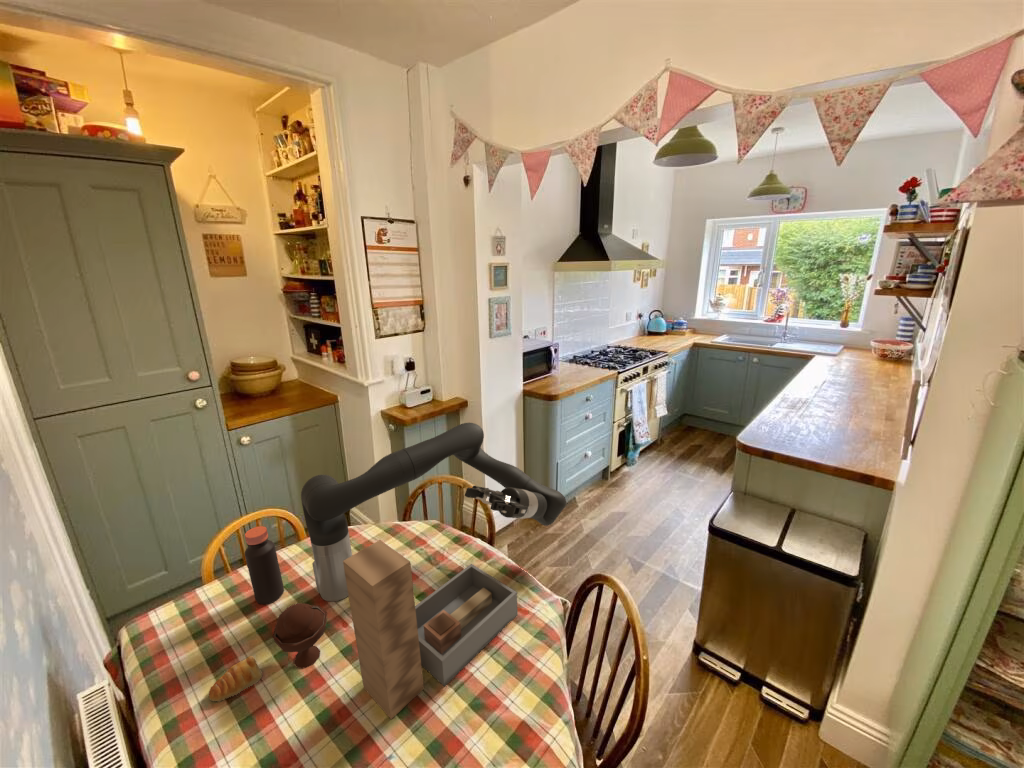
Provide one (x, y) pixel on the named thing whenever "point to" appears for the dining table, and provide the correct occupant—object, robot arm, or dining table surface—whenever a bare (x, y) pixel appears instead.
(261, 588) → the bottle
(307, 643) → the ice cream bowl
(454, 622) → the catapult arm
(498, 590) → the bin
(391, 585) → the tower
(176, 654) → the dining table surface
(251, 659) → the pastry
